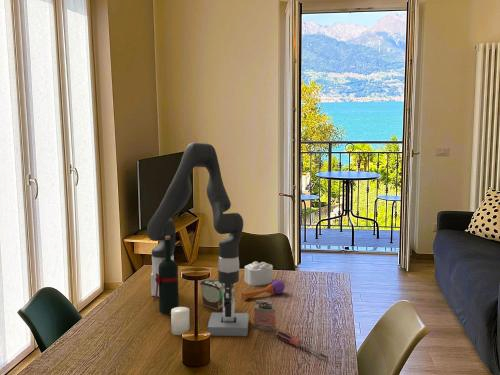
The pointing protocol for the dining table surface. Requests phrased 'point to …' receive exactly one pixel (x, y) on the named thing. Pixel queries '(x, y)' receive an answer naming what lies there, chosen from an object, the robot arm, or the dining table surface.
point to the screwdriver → (295, 341)
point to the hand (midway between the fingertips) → (228, 314)
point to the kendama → (266, 290)
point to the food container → (212, 293)
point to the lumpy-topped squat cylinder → (258, 273)
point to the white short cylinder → (180, 320)
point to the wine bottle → (167, 282)
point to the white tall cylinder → (232, 318)
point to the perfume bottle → (264, 315)
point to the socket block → (228, 325)
